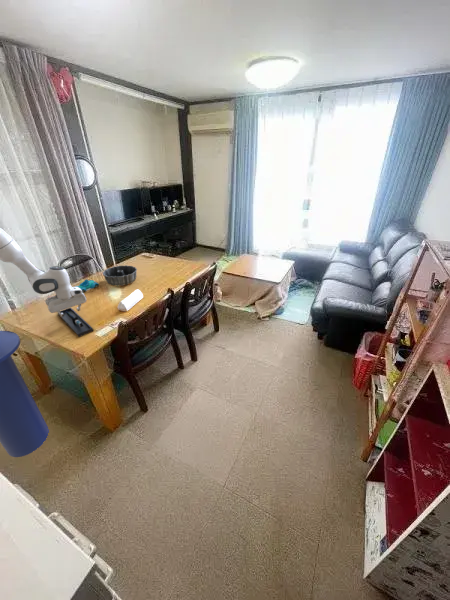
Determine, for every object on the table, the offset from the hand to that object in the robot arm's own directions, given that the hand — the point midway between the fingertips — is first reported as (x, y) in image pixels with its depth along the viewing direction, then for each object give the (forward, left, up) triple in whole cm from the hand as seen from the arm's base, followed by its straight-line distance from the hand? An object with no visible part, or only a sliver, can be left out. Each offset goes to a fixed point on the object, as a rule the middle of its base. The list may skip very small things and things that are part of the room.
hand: (70, 313), depth 155 cm
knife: (+1, 0, -6) cm, 6 cm away
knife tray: (0, 0, -7) cm, 7 cm away
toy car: (+24, +45, -7) cm, 51 cm away
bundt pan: (+50, +36, -7) cm, 62 cm away
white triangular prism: (+36, -4, -7) cm, 37 cm away
